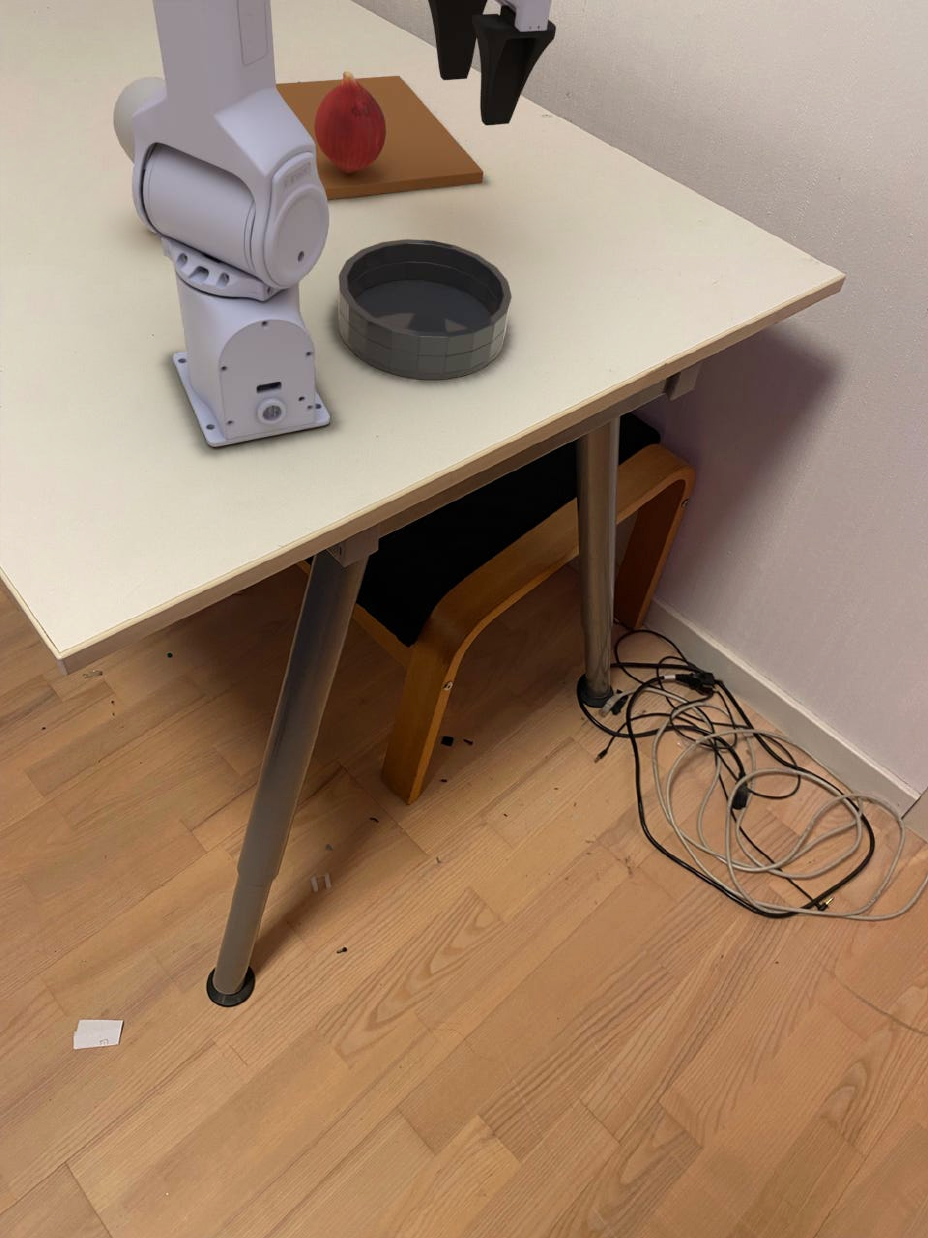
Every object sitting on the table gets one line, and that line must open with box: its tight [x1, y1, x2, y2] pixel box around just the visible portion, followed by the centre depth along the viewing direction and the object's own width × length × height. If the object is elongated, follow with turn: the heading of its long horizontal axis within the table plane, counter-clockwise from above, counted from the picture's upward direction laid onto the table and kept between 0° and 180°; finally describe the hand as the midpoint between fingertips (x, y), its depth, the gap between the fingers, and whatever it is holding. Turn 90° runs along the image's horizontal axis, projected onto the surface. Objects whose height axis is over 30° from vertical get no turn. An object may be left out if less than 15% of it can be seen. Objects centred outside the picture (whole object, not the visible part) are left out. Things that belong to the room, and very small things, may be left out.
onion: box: [314, 71, 386, 175], centre depth 76 cm, size 6×6×8 cm
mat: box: [276, 75, 484, 201], centre depth 85 cm, size 20×16×1 cm
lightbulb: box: [112, 76, 166, 165], centre depth 68 cm, size 6×6×11 cm
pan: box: [337, 238, 513, 381], centre depth 66 cm, size 12×12×4 cm
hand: (474, 99), depth 70 cm, fingers open, 7 cm apart
